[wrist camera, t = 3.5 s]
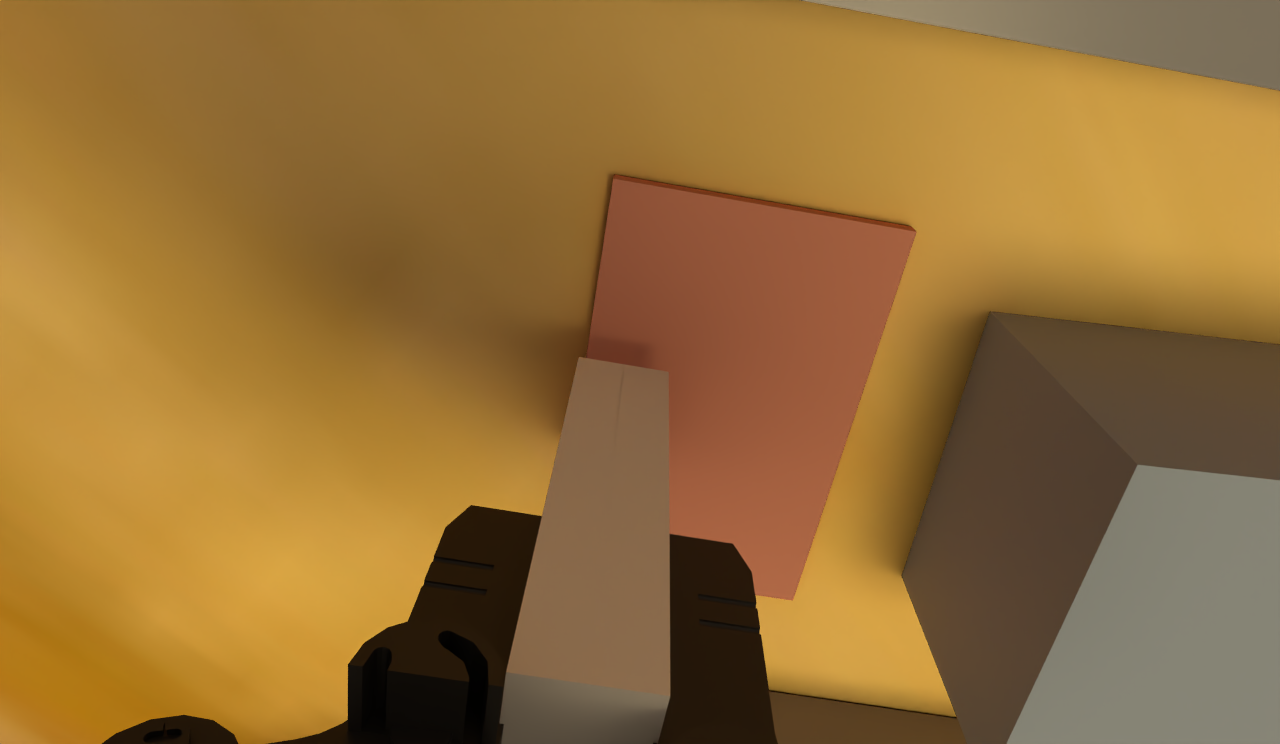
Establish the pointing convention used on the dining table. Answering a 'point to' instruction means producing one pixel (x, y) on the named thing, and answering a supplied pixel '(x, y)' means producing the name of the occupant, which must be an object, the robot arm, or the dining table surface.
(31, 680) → the dining table surface
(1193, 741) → the block
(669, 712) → the robot arm
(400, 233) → the dining table surface
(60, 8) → the dining table surface
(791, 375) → the track
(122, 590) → the dining table surface
